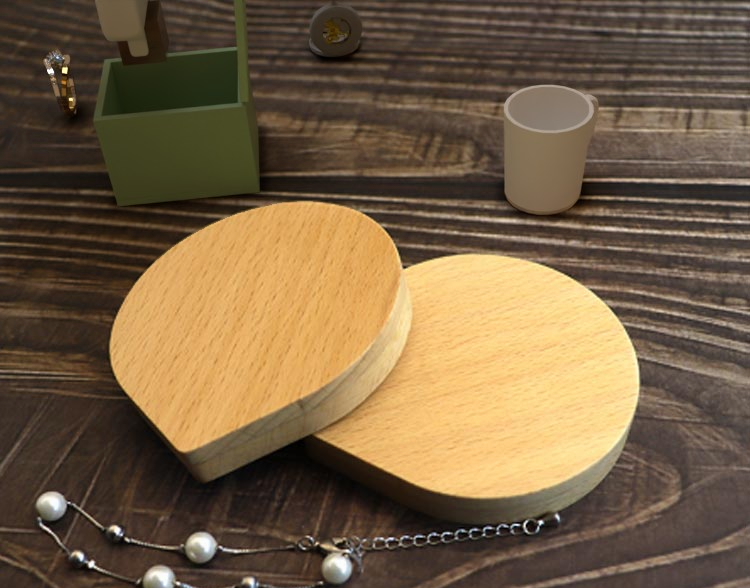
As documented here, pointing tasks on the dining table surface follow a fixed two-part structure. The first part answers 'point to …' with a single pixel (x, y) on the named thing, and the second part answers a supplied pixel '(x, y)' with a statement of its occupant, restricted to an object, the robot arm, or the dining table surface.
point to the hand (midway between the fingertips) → (142, 38)
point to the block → (149, 38)
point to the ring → (67, 82)
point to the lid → (242, 47)
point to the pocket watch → (335, 30)
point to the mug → (546, 147)
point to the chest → (177, 128)
